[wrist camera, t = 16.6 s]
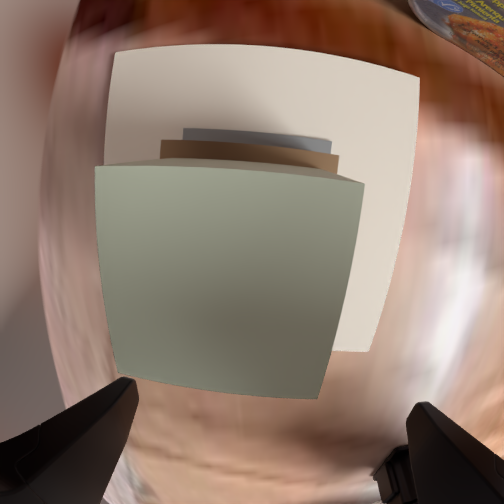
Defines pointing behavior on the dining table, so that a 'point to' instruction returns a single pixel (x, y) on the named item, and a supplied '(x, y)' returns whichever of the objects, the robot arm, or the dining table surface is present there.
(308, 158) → the walnut block
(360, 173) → the off-white flat square slab
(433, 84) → the dining table surface
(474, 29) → the tin
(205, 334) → the sage block
